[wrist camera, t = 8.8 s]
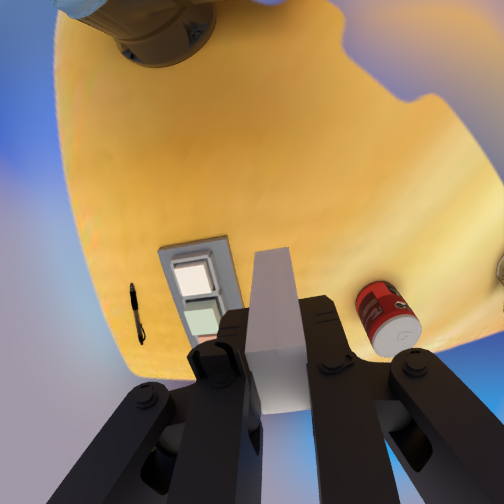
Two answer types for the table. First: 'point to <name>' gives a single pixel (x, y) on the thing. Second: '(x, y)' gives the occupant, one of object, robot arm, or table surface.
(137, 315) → the pen
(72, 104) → the table surface
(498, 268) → the ceramic cup
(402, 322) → the canned food
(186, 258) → the keypad
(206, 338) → the key terracotta
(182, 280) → the key ivory
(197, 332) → the key green
